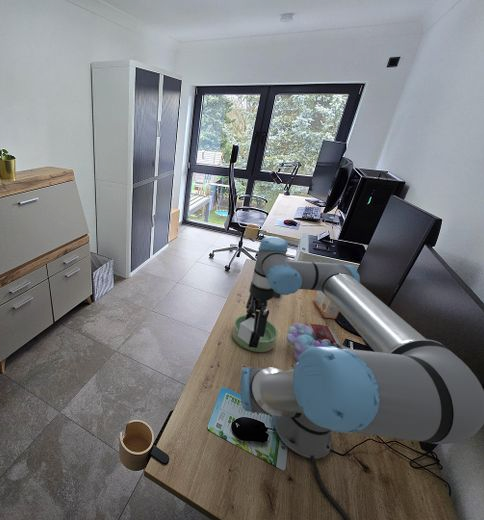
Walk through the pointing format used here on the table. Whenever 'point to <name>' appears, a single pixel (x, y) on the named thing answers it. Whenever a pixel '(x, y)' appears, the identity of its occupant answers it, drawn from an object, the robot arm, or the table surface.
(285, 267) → the robot arm
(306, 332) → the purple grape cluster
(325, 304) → the cracker box
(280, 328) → the table surface
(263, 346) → the bowl
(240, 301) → the table surface
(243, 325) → the white cube
